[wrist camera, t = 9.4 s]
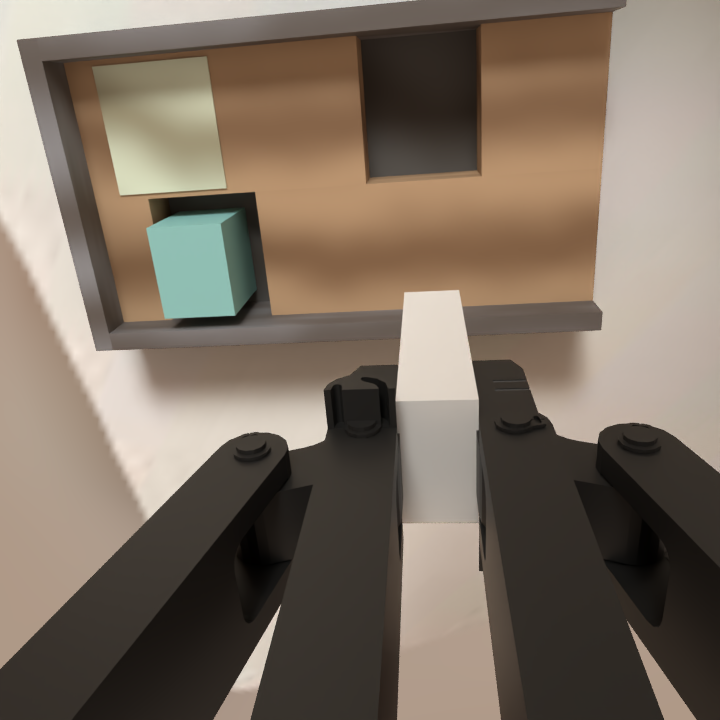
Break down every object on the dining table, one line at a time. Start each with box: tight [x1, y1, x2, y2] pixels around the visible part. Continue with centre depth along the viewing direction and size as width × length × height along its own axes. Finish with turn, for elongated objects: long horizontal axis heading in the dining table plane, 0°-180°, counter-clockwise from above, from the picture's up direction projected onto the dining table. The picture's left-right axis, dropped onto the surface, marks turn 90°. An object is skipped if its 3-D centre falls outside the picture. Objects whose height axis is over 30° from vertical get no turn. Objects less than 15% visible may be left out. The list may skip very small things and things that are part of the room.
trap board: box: [17, 0, 626, 351], centre depth 34 cm, size 16×28×5 cm, turn 94°
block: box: [146, 207, 257, 319], centre depth 36 cm, size 5×5×4 cm
